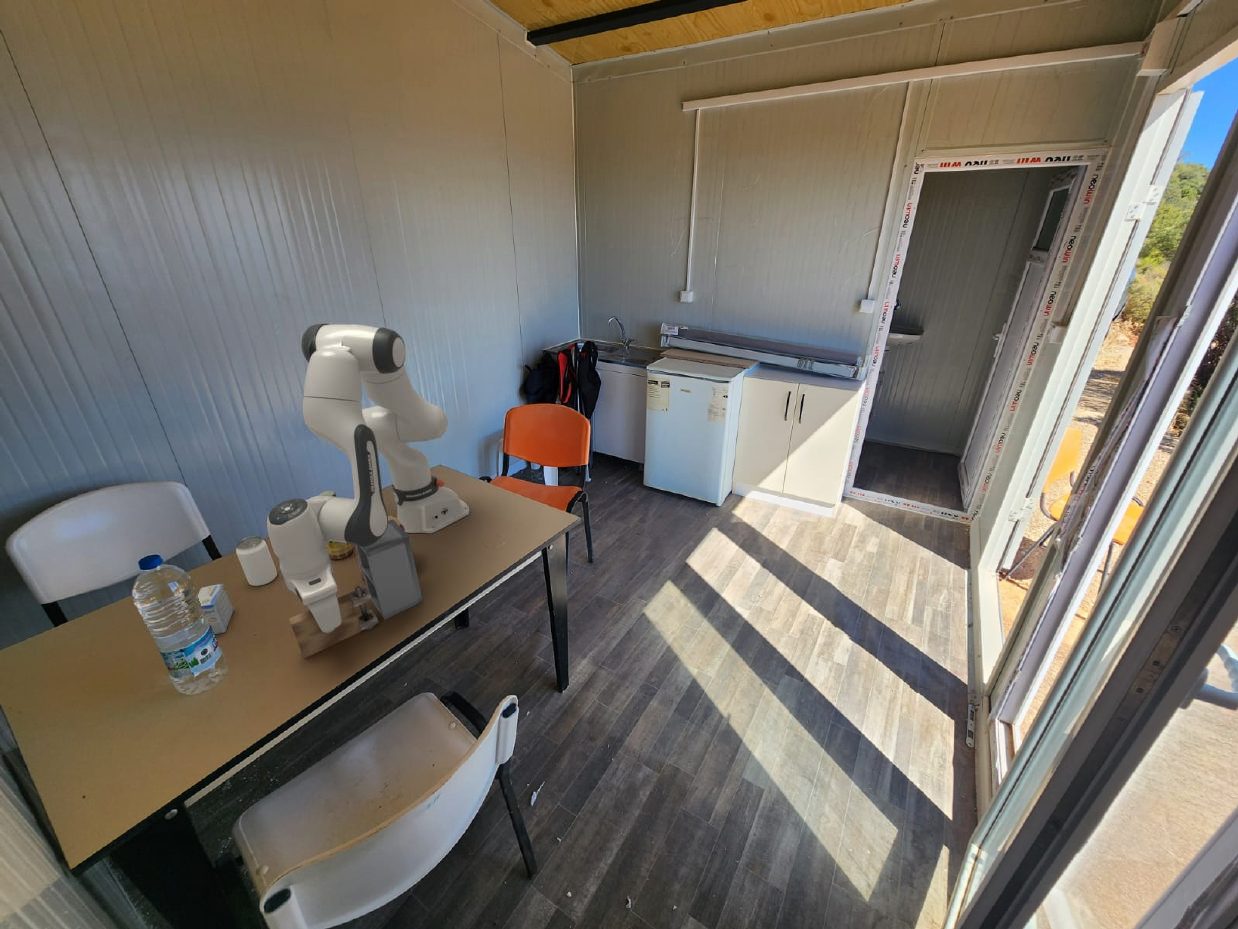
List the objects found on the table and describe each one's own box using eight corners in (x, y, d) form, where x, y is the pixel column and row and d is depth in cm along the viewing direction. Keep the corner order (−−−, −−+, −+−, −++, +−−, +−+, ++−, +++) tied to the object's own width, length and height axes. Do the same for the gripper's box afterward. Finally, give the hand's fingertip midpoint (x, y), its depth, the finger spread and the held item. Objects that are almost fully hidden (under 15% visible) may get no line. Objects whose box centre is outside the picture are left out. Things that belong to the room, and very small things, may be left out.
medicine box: (213, 615, 120) (200, 587, 116) (235, 610, 122) (222, 582, 118) (203, 638, 113) (189, 609, 110) (226, 632, 115) (213, 603, 111)
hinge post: (373, 617, 120) (362, 579, 115) (378, 625, 118) (368, 587, 112) (357, 624, 118) (346, 586, 113) (362, 632, 115) (351, 594, 110)
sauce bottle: (332, 563, 138) (314, 502, 129) (326, 553, 142) (308, 493, 134) (357, 554, 142) (341, 494, 133) (351, 544, 146) (334, 486, 138)
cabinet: (407, 582, 132) (392, 519, 123) (422, 601, 125) (408, 536, 116) (370, 598, 126) (352, 533, 117) (384, 619, 119) (366, 552, 110)
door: (373, 616, 120) (364, 584, 116) (379, 625, 118) (370, 592, 113) (300, 650, 110) (287, 617, 106) (304, 660, 108) (292, 626, 104)
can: (263, 588, 129) (249, 551, 123) (242, 585, 130) (227, 547, 124) (283, 573, 134) (270, 536, 129) (263, 569, 135) (249, 533, 130)
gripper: (280, 556, 109) (297, 604, 115) (304, 604, 95) (322, 655, 102) (312, 544, 113) (327, 591, 119) (339, 589, 99) (355, 639, 106)
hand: (325, 621), depth 110 cm, fingers open, 5 cm apart
